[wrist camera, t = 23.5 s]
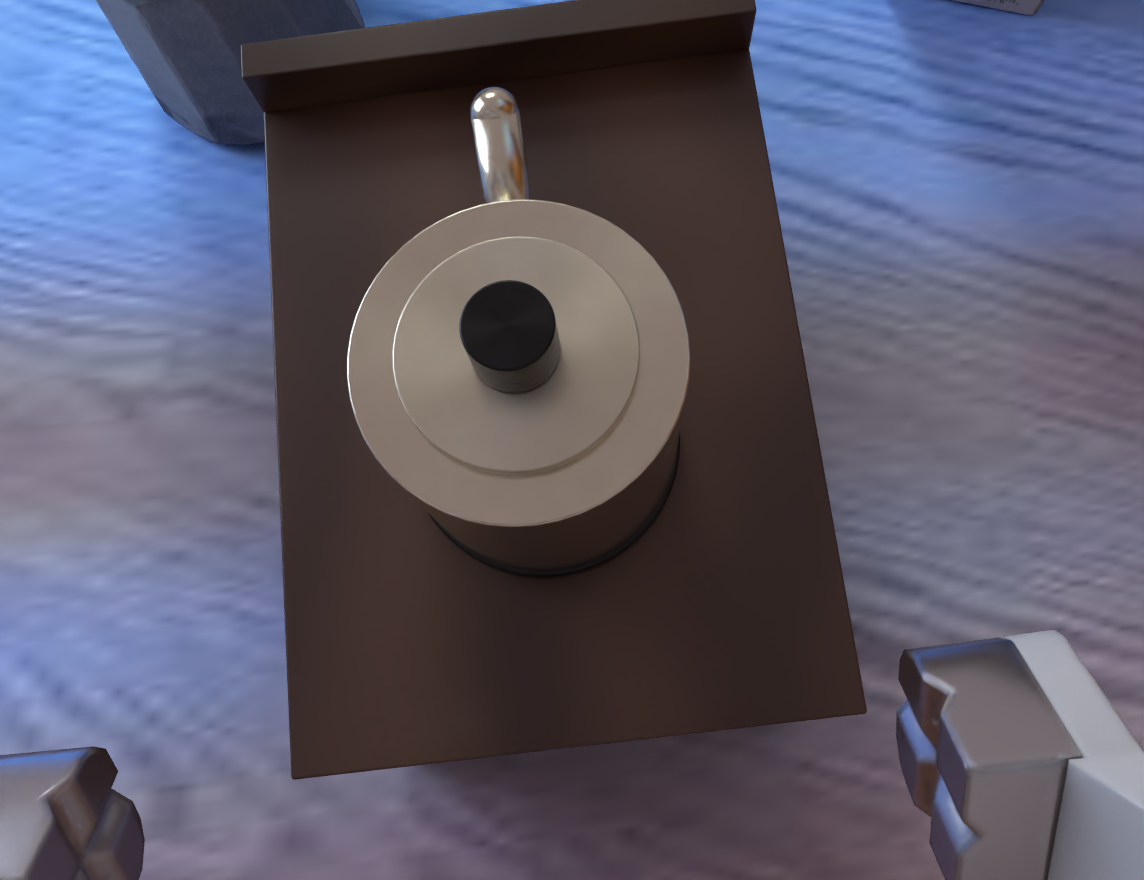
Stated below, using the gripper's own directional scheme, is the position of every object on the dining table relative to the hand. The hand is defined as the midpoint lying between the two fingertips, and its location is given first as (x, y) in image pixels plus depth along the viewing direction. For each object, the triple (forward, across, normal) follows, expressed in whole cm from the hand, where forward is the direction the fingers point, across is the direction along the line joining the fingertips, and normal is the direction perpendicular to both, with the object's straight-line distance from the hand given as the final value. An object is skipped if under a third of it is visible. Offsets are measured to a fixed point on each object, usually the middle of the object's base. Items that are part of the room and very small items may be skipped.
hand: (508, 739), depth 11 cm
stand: (+24, 0, +12) cm, 27 cm away
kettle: (+15, 0, +4) cm, 15 cm away
